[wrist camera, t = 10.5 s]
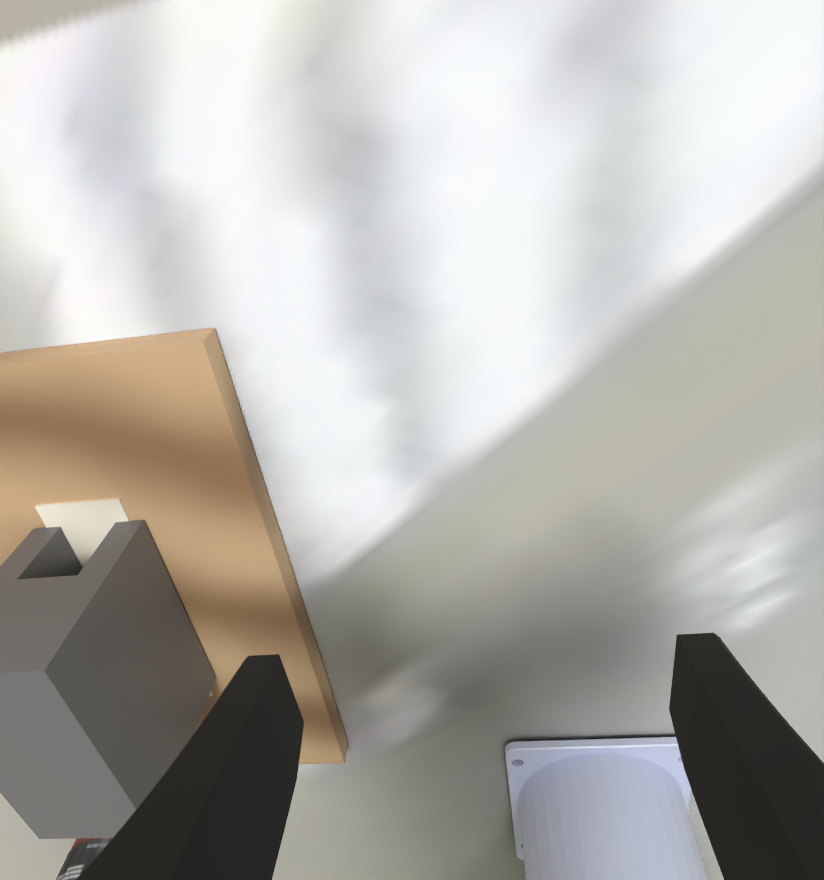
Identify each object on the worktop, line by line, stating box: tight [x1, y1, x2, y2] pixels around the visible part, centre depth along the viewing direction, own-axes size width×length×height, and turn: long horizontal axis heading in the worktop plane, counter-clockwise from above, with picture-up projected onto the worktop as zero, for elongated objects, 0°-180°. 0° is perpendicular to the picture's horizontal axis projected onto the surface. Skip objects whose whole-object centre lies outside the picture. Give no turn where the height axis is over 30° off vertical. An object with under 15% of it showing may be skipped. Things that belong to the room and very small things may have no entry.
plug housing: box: [0, 520, 216, 839], centre depth 21 cm, size 8×4×6 cm, turn 8°
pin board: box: [0, 328, 348, 764], centre depth 23 cm, size 20×12×3 cm, turn 8°
